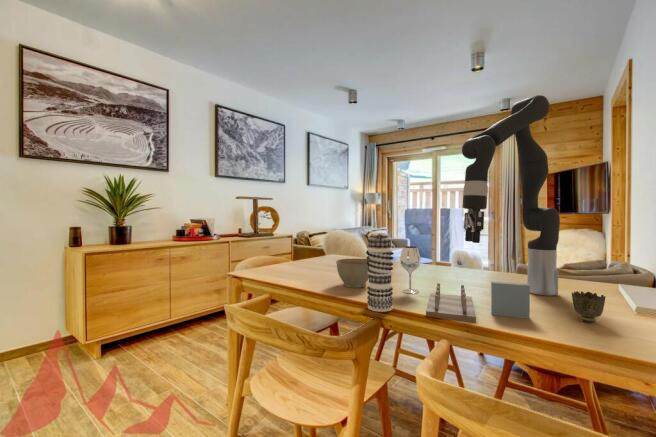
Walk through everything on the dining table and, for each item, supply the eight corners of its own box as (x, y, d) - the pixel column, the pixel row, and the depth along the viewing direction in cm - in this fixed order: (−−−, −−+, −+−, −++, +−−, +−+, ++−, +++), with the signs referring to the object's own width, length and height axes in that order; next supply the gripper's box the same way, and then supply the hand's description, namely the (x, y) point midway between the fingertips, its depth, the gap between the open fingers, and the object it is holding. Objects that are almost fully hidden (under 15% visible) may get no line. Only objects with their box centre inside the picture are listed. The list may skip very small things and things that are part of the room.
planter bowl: (379, 283, 134) (378, 259, 134) (363, 292, 121) (363, 265, 120) (347, 279, 143) (347, 257, 143) (329, 287, 129) (329, 262, 129)
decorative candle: (377, 314, 95) (376, 235, 94) (361, 305, 103) (360, 233, 103) (399, 309, 99) (399, 234, 99) (382, 301, 107) (382, 232, 107)
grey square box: (490, 312, 96) (490, 281, 96) (527, 316, 92) (527, 283, 92) (491, 314, 94) (491, 282, 93) (529, 318, 90) (529, 285, 90)
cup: (564, 317, 91) (565, 291, 90) (587, 316, 91) (587, 290, 91) (588, 326, 83) (588, 298, 83) (612, 325, 84) (612, 297, 84)
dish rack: (430, 296, 113) (430, 281, 113) (471, 300, 108) (471, 284, 108) (425, 316, 93) (425, 296, 93) (476, 321, 87) (476, 301, 87)
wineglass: (421, 294, 116) (421, 248, 116) (400, 293, 118) (400, 248, 117) (419, 289, 124) (419, 246, 124) (399, 288, 126) (399, 245, 125)
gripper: (494, 193, 96) (491, 244, 96) (480, 197, 110) (477, 241, 110) (469, 192, 97) (466, 242, 97) (458, 196, 111) (455, 240, 111)
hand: (471, 242), depth 103 cm, fingers open, 8 cm apart
